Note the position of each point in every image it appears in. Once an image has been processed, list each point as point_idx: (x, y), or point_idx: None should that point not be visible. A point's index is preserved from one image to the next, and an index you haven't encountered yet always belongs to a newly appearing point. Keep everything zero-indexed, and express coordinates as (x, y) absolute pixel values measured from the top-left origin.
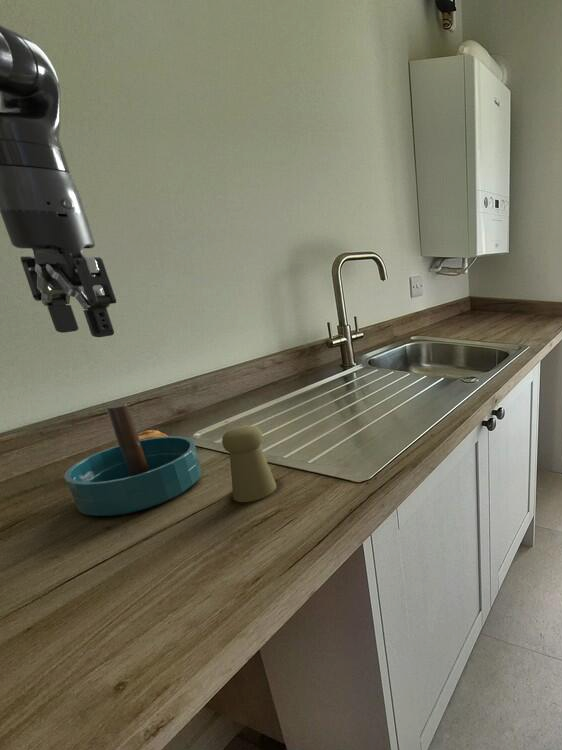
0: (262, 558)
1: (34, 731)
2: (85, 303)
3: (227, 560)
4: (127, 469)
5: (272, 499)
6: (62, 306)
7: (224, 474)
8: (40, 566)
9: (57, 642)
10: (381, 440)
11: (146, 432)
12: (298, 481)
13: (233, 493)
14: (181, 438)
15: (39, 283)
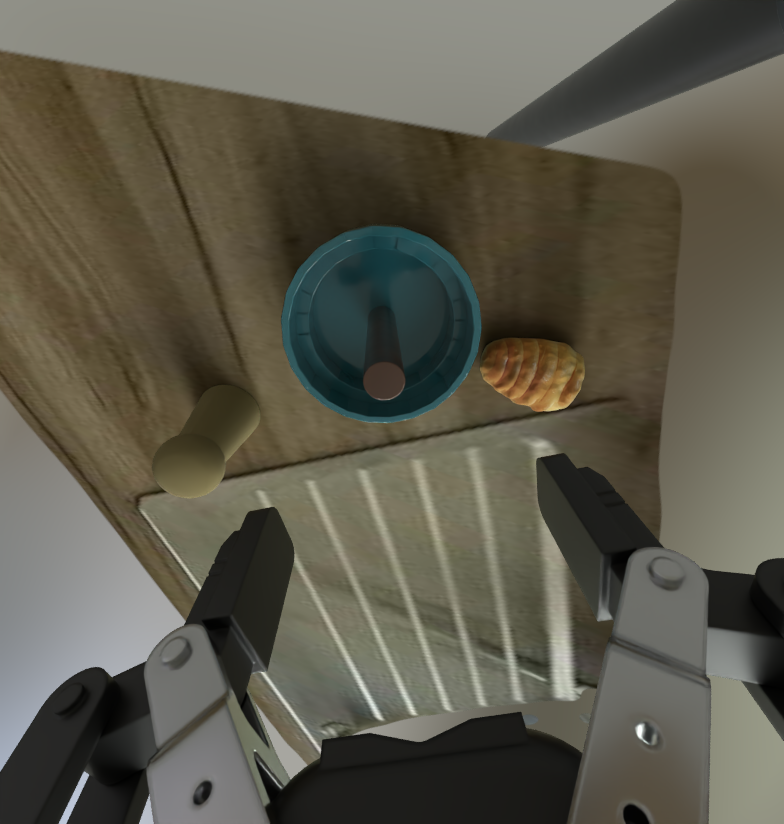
0: (31, 343)
1: None
2: (146, 668)
3: (58, 314)
4: (383, 316)
5: (184, 414)
6: (597, 591)
7: (329, 408)
8: (246, 137)
9: (6, 107)
10: None
11: (567, 393)
12: None
13: (225, 390)
14: (402, 415)
15: (654, 751)
